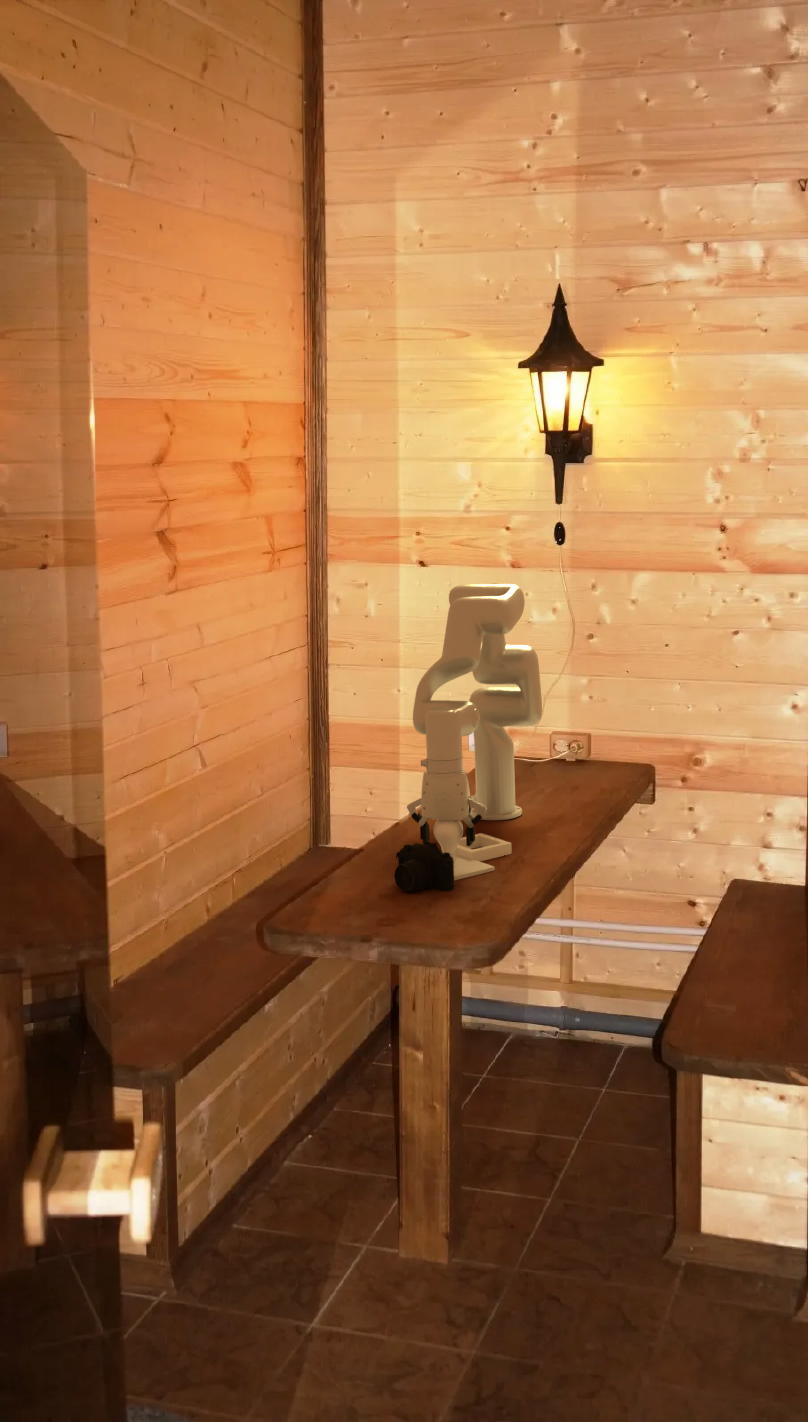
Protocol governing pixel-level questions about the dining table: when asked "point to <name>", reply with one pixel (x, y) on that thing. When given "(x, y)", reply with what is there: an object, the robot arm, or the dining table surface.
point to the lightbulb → (448, 835)
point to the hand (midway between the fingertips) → (448, 843)
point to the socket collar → (483, 848)
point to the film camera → (424, 868)
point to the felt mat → (469, 867)
